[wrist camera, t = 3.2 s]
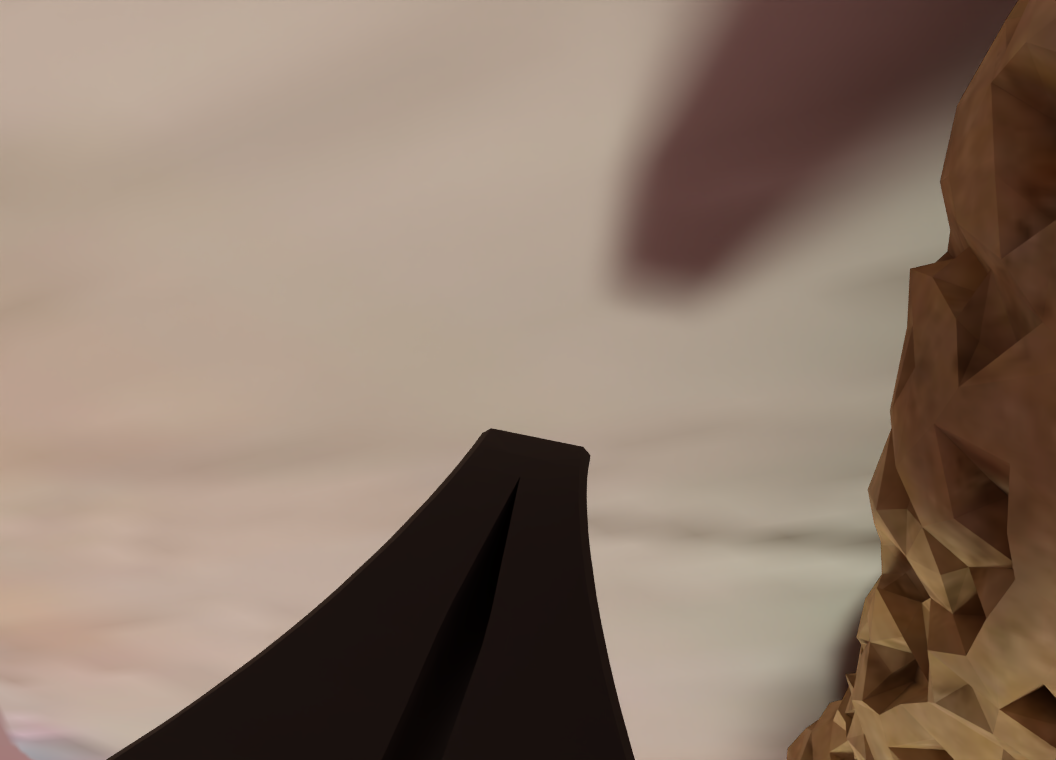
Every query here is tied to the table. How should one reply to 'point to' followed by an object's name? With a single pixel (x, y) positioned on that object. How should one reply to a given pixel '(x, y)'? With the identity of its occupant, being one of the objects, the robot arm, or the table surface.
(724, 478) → the table surface
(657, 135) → the table surface
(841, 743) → the brown oblong lump
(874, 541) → the table surface
